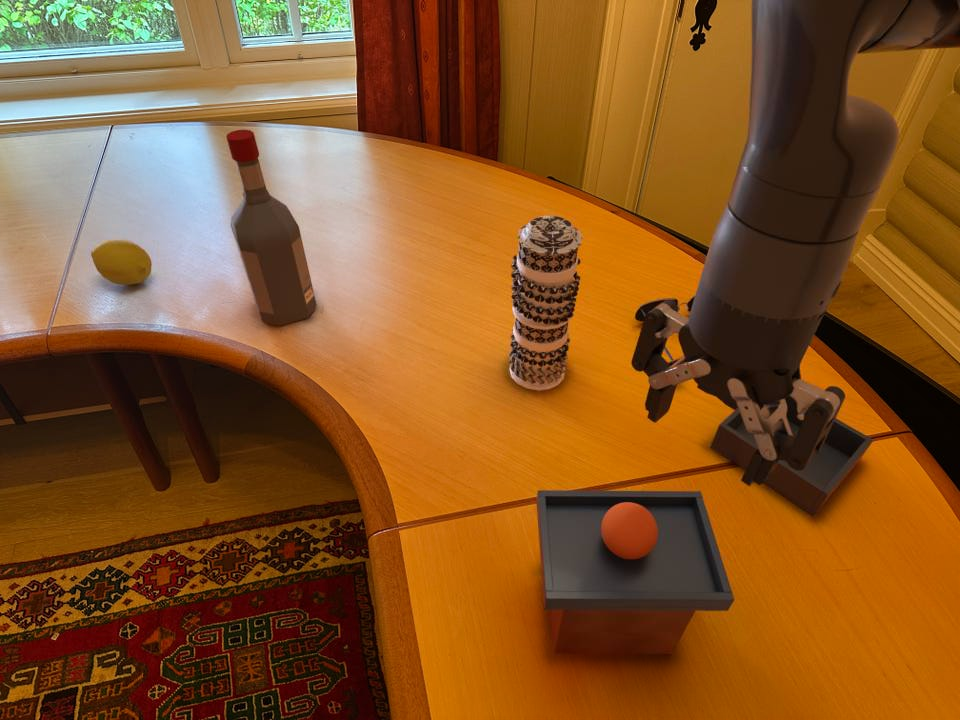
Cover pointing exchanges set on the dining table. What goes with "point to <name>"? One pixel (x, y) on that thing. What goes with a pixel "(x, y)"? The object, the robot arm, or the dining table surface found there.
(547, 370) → the decorative candle
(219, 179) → the dining table surface
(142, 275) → the lemon
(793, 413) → the bin
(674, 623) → the stand
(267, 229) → the liquor
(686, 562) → the tray
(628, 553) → the ball
